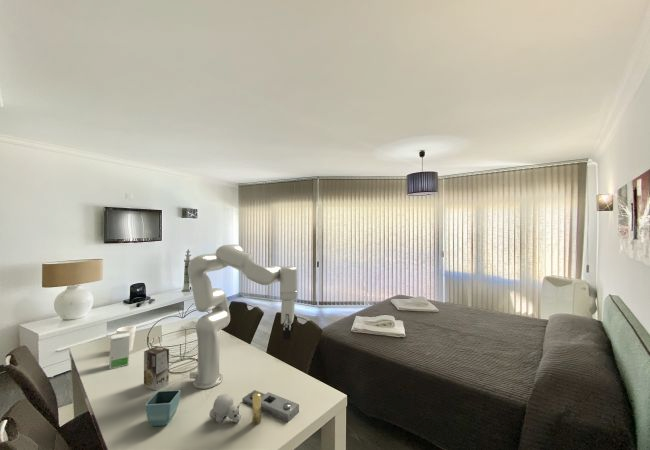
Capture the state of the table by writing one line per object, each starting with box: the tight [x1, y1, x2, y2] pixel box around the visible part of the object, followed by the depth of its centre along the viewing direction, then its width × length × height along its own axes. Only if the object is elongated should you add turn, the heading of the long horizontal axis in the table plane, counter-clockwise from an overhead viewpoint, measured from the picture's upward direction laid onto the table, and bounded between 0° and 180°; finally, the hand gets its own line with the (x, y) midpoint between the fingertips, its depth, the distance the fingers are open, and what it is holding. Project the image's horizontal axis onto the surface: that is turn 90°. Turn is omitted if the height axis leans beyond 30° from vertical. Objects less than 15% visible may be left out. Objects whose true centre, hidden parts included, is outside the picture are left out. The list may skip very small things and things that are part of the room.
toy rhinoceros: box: [208, 393, 242, 423], centre depth 102 cm, size 7×12×8 cm, turn 70°
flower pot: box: [144, 389, 181, 427], centre depth 101 cm, size 9×9×9 cm
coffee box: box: [143, 345, 170, 391], centre depth 126 cm, size 9×6×16 cm
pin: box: [251, 391, 262, 426], centre depth 101 cm, size 3×3×10 cm
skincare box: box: [108, 333, 130, 370], centre depth 145 cm, size 8×7×16 cm
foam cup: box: [115, 325, 137, 352], centre depth 163 cm, size 10×9×13 cm
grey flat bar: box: [241, 389, 300, 423], centre depth 110 cm, size 24×7×3 cm, turn 59°
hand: (288, 335), depth 118 cm, fingers open, 9 cm apart
